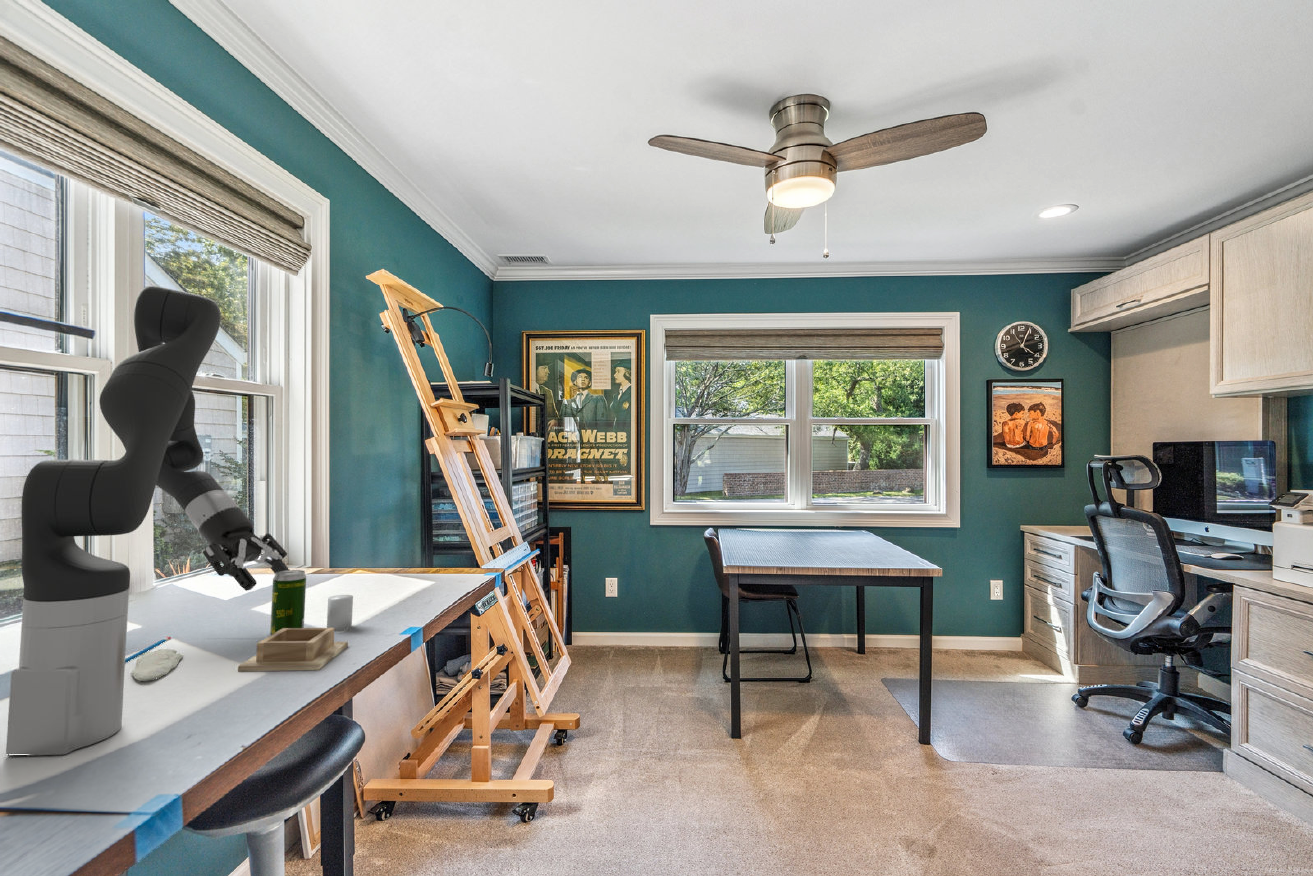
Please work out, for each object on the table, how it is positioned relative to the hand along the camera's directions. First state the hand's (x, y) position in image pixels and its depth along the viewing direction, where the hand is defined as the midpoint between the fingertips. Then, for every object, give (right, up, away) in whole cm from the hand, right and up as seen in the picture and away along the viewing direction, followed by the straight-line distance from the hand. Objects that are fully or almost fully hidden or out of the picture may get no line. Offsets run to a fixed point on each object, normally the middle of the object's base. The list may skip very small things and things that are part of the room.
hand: (270, 582), depth 113 cm
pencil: (-14, -10, -12) cm, 21 cm away
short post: (+10, -10, +6) cm, 16 cm away
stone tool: (-6, -10, -18) cm, 22 cm away
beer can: (+4, -10, -1) cm, 11 cm away
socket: (+12, -10, -12) cm, 20 cm away
